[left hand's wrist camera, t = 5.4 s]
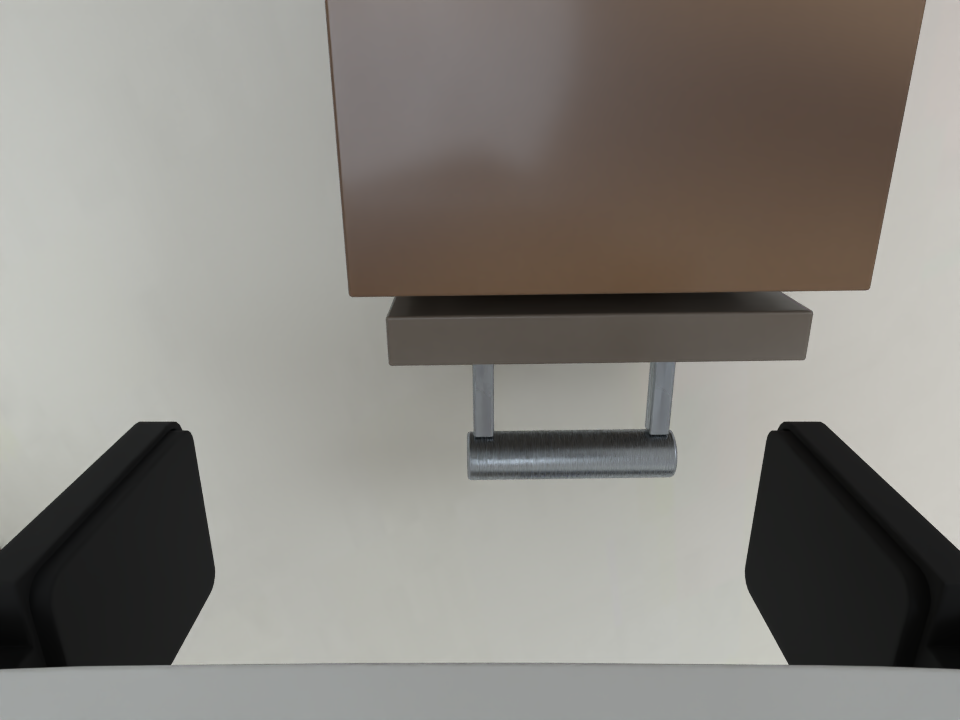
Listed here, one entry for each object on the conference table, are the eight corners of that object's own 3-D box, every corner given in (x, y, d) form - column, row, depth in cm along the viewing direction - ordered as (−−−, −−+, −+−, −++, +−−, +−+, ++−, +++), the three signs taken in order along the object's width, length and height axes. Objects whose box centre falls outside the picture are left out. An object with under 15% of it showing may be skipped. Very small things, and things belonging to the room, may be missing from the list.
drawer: (672, 396, 27) (775, 548, 17) (425, 399, 27) (400, 553, 17) (757, -492, 18) (1055, -1121, 9) (387, -489, 18) (294, -1116, 9)
